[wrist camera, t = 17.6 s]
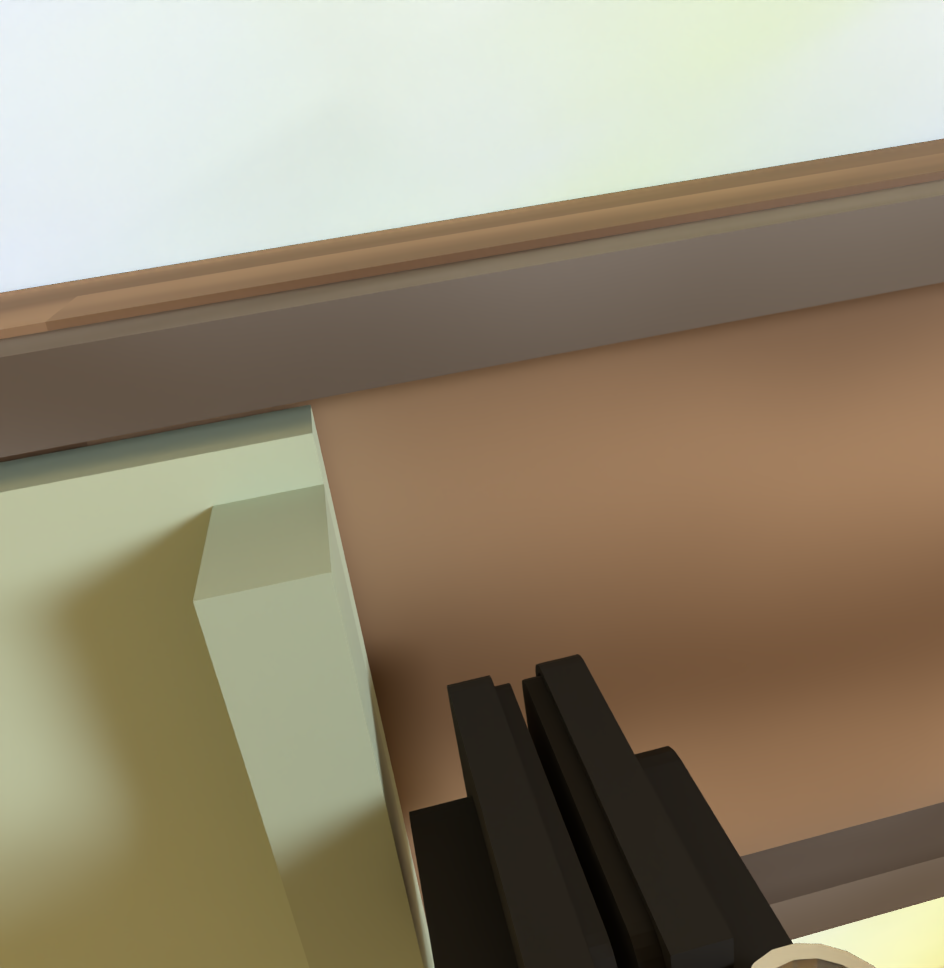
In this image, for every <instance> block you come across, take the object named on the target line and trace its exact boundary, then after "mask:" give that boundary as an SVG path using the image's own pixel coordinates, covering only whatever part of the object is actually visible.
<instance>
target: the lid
mask: <svg viewBox="0 0 944 968" xmlns="http://www.w3.org/2000/svg"><path fill="white" fill-rule="evenodd" d="M0 968H435V967H434V961H433V955H432V949H431V943H430V937H429V932H428V926H427V922H426V917H425V913H424V908H423V904H422V899H421V895H420V891H419V886H418V882H417V877H416V873H415V868H414V864H413V859H412V855H411V850H410V846H409V841H408V837H407V832H406V828H405V824H404V819H403V815H402V810H401V806H400V801H399V797H398V792H397V788H396V783H395V779H394V774H393V770H392V765H391V761H390V757H389V752H388V748H387V743H386V739H385V734H384V730H383V725H382V721H381V716H380V712H379V707H378V703H377V698H376V694H375V690H374V685H373V681H372V676H371V672H370V667H369V663H368V658H367V654H366V649H365V645H364V640H363V636H362V631H361V627H360V623H359V618H358V614H357V609H356V605H355V600H354V596H353V591H352V587H351V582H350V578H349V573H348V569H347V564H346V560H345V556H344V551H343V547H342V542H341V538H340V533H339V529H338V524H337V520H336V515H335V511H334V506H333V502H332V497H331V493H330V489H329V484H328V480H327V475H326V471H325V466H324V462H323V457H322V453H321V448H320V444H319V439H318V435H317V430H316V426H315V422H314V417H313V413H312V408H311V405H305V406H300V407H295V408H289V409H284V410H279V411H273V412H268V413H263V414H257V415H252V416H247V417H241V418H236V419H231V420H225V421H220V422H214V423H209V424H204V425H198V426H193V427H188V428H182V429H177V430H172V431H166V432H161V433H156V434H150V435H145V436H140V437H134V438H129V439H123V440H118V441H113V442H107V443H102V444H97V445H91V446H86V447H81V448H75V449H70V450H65V451H59V452H54V453H48V454H43V455H38V456H32V457H27V458H22V459H16V460H11V461H6V462H0Z"/></svg>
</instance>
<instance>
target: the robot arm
mask: <svg viewBox="0 0 944 968" xmlns="http://www.w3.org/2000/svg"><path fill="white" fill-rule="evenodd" d="M535 673H536V677H532V678H528V679H523V680H522V689H523V697H524V704H525V711H526V718H527V725H528V728H527V725H526V723H525V720H524V717H523V715H522V712H521V710H520V707H519V705H518V702H517V699H516V697H515V694H514V692H513V689H512V687H511V684H510V683H507V684H502V685H498V686H494V683H493V681H492V678H491V676H490V675H488V676H484V677H480V678H475V679H471V680H467V681H463V682H459V683H454V684H450V685H447V691H448V697H449V702H450V708H451V713H452V718H453V724H454V729H455V735H456V740H457V745H458V751H459V756H460V761H461V767H462V772H463V777H464V783H465V788H466V793H467V797H465V798H461V799H457V800H453V801H450V802H446V803H442V804H438V805H434V806H430V807H426V808H422V809H418V810H414V811H410V812H409V818H410V824H411V830H412V836H413V842H414V848H415V854H416V860H417V866H418V872H419V878H420V884H421V890H422V896H423V902H424V908H425V914H426V920H427V926H428V932H429V937H430V943H431V949H432V955H433V961H434V967H435V968H875V967H874V966H873V965H871V964H869V963H868V962H866V961H864V960H862V959H860V958H859V957H857V956H855V955H853V954H851V953H850V952H848V951H844V950H841V949H837V948H834V947H830V946H827V945H823V944H807V943H794V944H793V943H792V941H791V939H790V938H789V936H788V935H787V933H786V931H785V930H784V928H783V926H782V925H781V923H780V921H779V920H778V918H777V916H776V915H775V913H774V912H773V910H772V908H771V907H770V905H769V903H768V902H767V900H766V898H765V897H764V895H763V893H762V892H761V890H760V888H759V887H758V885H757V884H756V882H755V880H754V879H753V877H752V875H751V874H750V872H749V870H748V869H747V867H746V865H745V864H744V862H743V861H742V859H741V857H740V856H739V854H738V852H737V851H736V849H735V847H734V846H733V844H732V842H731V841H730V839H729V838H728V836H727V834H726V833H725V831H724V829H723V828H722V826H721V824H720V823H719V821H718V819H717V818H716V816H715V815H714V813H713V811H712V810H711V808H710V806H709V805H708V803H707V801H706V800H705V798H704V796H703V795H702V793H701V791H700V790H699V788H698V787H697V785H696V783H695V782H694V780H693V778H692V777H691V775H690V773H689V772H688V770H687V768H686V767H685V765H684V764H683V762H682V760H681V759H680V757H679V756H678V755H677V753H676V752H675V751H674V750H673V749H672V748H671V747H669V746H666V747H662V748H658V749H654V750H650V751H646V752H642V753H638V754H634V752H633V750H632V749H631V747H630V745H629V743H628V741H627V739H626V737H625V736H624V734H623V732H622V730H621V728H620V726H619V725H618V723H617V721H616V719H615V717H614V715H613V713H612V712H611V710H610V708H609V706H608V704H607V702H606V700H605V699H604V697H603V695H602V693H601V691H600V689H599V687H598V686H597V684H596V682H595V680H594V678H593V676H592V675H591V673H590V671H589V669H588V667H587V665H586V663H585V662H584V660H583V658H582V657H581V656H580V655H579V654H576V655H572V656H568V657H564V658H560V659H555V660H551V661H547V662H543V663H539V664H536V667H535Z"/></svg>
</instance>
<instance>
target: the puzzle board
mask: <svg viewBox="0 0 944 968" xmlns="http://www.w3.org/2000/svg"><path fill="white" fill-rule="evenodd" d="M305 405H311V408H312V413H313V417H314V422H315V426H316V430H317V435H318V439H319V444H320V448H321V453H322V457H323V462H324V466H325V471H326V475H327V480H328V484H329V489H330V493H331V497H332V502H333V506H334V511H335V515H336V520H337V524H338V529H339V533H340V538H341V542H342V547H343V551H344V556H345V560H346V564H347V569H348V573H349V578H350V582H351V587H352V591H353V596H354V600H355V605H356V609H357V614H358V618H359V623H360V627H361V631H362V636H363V640H364V645H365V649H366V654H367V658H368V663H369V667H370V672H371V676H372V681H373V685H374V690H375V694H376V698H377V703H378V707H379V712H380V716H381V721H382V725H383V730H384V734H385V739H386V743H387V748H388V752H389V757H390V761H391V765H392V770H393V774H394V779H395V783H396V788H397V792H398V797H399V801H400V806H401V810H402V815H403V819H404V824H405V828H406V832H407V837H408V841H409V846H410V850H411V855H412V859H413V864H414V868H415V873H416V877H417V882H418V886H419V891H420V895H421V899H422V904H423V908H424V902H423V896H422V890H421V884H420V878H419V872H418V866H417V860H416V854H415V848H414V842H413V836H412V830H411V824H410V818H409V812H410V811H414V810H418V809H422V808H426V807H430V806H434V805H438V804H442V803H446V802H450V801H453V800H457V799H461V798H465V797H467V793H466V788H465V783H464V777H463V772H462V767H461V761H460V756H459V751H458V745H457V740H456V735H455V729H454V724H453V718H452V713H451V708H450V702H449V697H448V691H447V685H450V684H454V683H459V682H463V681H467V680H471V679H475V678H480V677H484V676H488V675H490V676H491V678H492V681H493V683H494V686H498V685H502V684H507V683H510V684H511V687H512V689H513V692H514V694H515V697H516V699H517V702H518V705H519V707H520V710H521V712H522V715H523V717H524V720H525V723H526V725H527V718H526V711H525V704H524V697H523V689H522V680H523V679H528V678H532V677H536V673H535V667H536V664H539V663H543V662H547V661H551V660H555V659H560V658H564V657H568V656H572V655H576V654H579V655H580V656H581V657H582V658H583V660H584V662H585V663H586V665H587V667H588V669H589V671H590V673H591V675H592V676H593V678H594V680H595V682H596V684H597V686H598V687H599V689H600V691H601V693H602V695H603V697H604V699H605V700H606V702H607V704H608V706H609V708H610V710H611V712H612V713H613V715H614V717H615V719H616V721H617V723H618V725H619V726H620V728H621V730H622V732H623V734H624V736H625V737H626V739H627V741H628V743H629V745H630V747H631V749H632V750H633V752H634V754H638V753H642V752H646V751H650V750H654V749H658V748H662V747H666V746H669V747H671V748H672V749H673V750H674V751H675V752H676V753H677V755H678V756H679V757H680V759H681V760H682V762H683V764H684V765H685V767H686V768H687V770H688V772H689V773H690V775H691V777H692V778H693V780H694V782H695V783H696V785H697V787H698V788H699V790H700V791H701V793H702V795H703V796H704V798H705V800H706V801H707V803H708V805H709V806H710V808H711V810H712V811H713V813H714V815H715V816H716V818H717V819H718V821H719V823H720V824H721V826H722V828H723V829H724V831H725V833H726V834H727V836H728V838H729V839H730V841H731V842H732V844H733V846H734V847H735V849H736V851H737V852H738V854H739V856H740V857H741V859H742V861H743V862H744V864H745V865H746V867H747V869H748V870H749V872H750V874H751V875H752V877H753V879H754V880H755V882H756V884H757V885H758V887H759V888H760V890H761V892H762V893H763V895H764V897H765V898H766V900H767V902H768V903H769V905H770V907H771V908H772V910H773V912H774V913H775V915H776V916H777V918H778V920H779V921H780V923H781V925H782V926H783V928H784V930H785V931H786V933H787V935H788V936H789V938H790V939H791V940H792V939H796V938H799V937H803V936H806V935H810V934H813V933H817V932H820V931H824V930H828V929H831V928H835V927H838V926H842V925H845V924H849V923H852V922H856V921H859V920H863V919H866V918H870V917H873V916H877V915H880V914H884V913H887V912H891V911H894V910H898V909H902V908H905V907H909V906H912V905H916V904H919V903H923V902H926V901H930V900H933V899H937V898H940V897H944V139H939V140H933V141H927V142H921V143H915V144H909V145H903V146H897V147H890V148H884V149H878V150H872V151H866V152H860V153H854V154H848V155H841V156H835V157H829V158H823V159H817V160H811V161H805V162H799V163H792V164H786V165H780V166H774V167H768V168H762V169H756V170H750V171H743V172H737V173H731V174H725V175H719V176H713V177H707V178H701V179H694V180H688V181H682V182H676V183H670V184H664V185H658V186H652V187H645V188H639V189H633V190H627V191H621V192H615V193H609V194H603V195H597V196H590V197H584V198H578V199H572V200H566V201H560V202H554V203H548V204H541V205H535V206H529V207H523V208H517V209H511V210H505V211H499V212H492V213H486V214H480V215H474V216H468V217H462V218H456V219H450V220H443V221H437V222H431V223H425V224H419V225H413V226H407V227H401V228H394V229H388V230H382V231H376V232H370V233H364V234H358V235H352V236H345V237H339V238H333V239H327V240H321V241H315V242H309V243H303V244H297V245H290V246H284V247H278V248H272V249H266V250H260V251H254V252H248V253H241V254H235V255H229V256H223V257H217V258H211V259H205V260H199V261H192V262H186V263H180V264H174V265H168V266H162V267H156V268H150V269H143V270H137V271H131V272H125V273H119V274H113V275H107V276H101V277H94V278H88V279H82V280H76V281H70V282H64V283H58V284H52V285H46V286H39V287H33V288H27V289H21V290H15V291H9V292H3V293H0V462H6V461H11V460H16V459H22V458H27V457H32V456H38V455H43V454H48V453H54V452H59V451H65V450H70V449H75V448H81V447H86V446H91V445H97V444H102V443H107V442H113V441H118V440H123V439H129V438H134V437H140V436H145V435H150V434H156V433H161V432H166V431H172V430H177V429H182V428H188V427H193V426H198V425H204V424H209V423H214V422H220V421H225V420H231V419H236V418H241V417H247V416H252V415H257V414H263V413H268V412H273V411H279V410H284V409H289V408H295V407H300V406H305ZM527 728H528V725H527ZM424 913H425V908H424ZM425 917H426V914H425ZM426 922H427V920H426Z"/></svg>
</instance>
